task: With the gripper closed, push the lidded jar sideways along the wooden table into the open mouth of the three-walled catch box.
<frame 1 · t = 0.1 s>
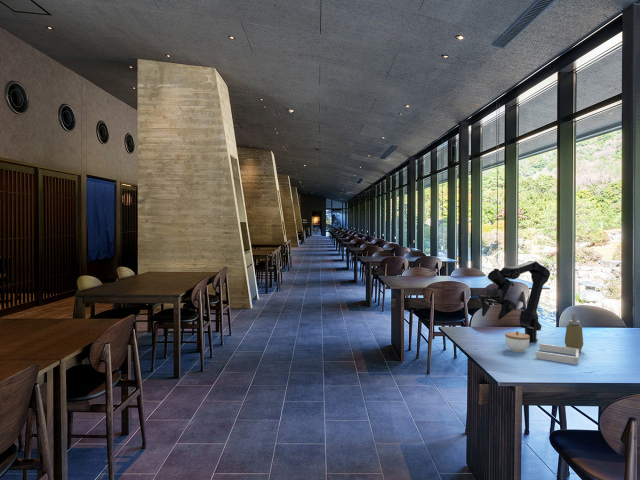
hand: (490, 317, 213), 15 cm above the table, tool tilted 30°, fingers open, 9 cm apart
catch box: (557, 356, 200), on the table
squeeze bottle: (573, 350, 211), on the table
lidded jar: (517, 351, 209), on the table
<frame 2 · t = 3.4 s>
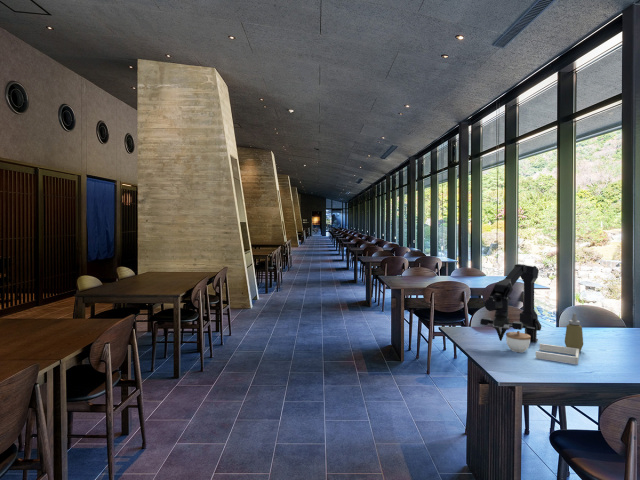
hand: (500, 340, 213), 4 cm above the table, tool pointing down, fingers closed
lidded jar: (517, 350, 208), on the table, touching gripper
everything else where it was.
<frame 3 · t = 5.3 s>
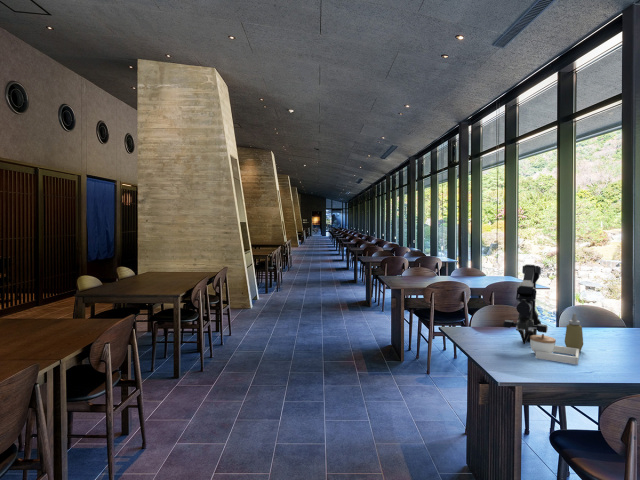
hand: (524, 343, 207), 4 cm above the table, tool pointing down, fingers closed
lidded jar: (541, 354, 203), on the table, touching gripper
everything else where it was.
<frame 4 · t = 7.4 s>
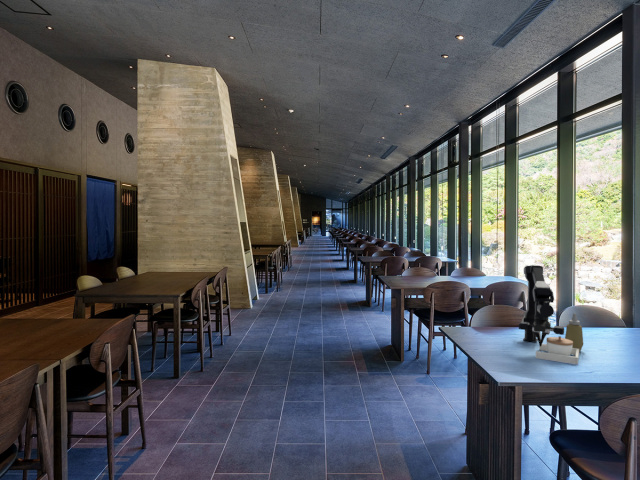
hand: (540, 346, 203), 4 cm above the table, tool pointing down, fingers closed
lidded jar: (558, 357, 199), on the table, touching gripper
everything else where it was.
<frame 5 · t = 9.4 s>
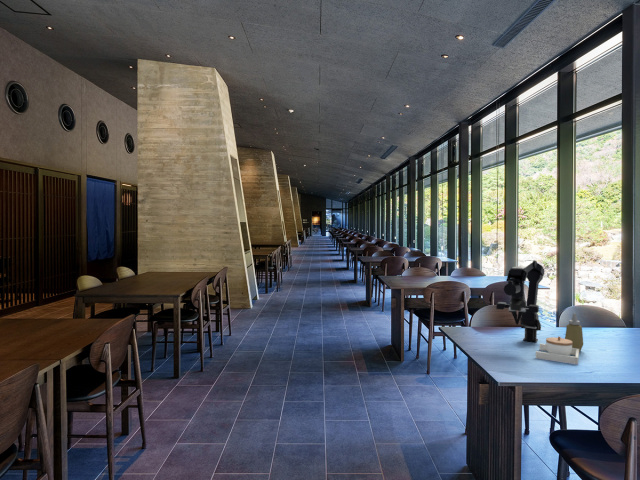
hand: (517, 324, 213), 12 cm above the table, tool pointing down, fingers closed
lidded jar: (558, 357, 199), on the table
everything else where it was.
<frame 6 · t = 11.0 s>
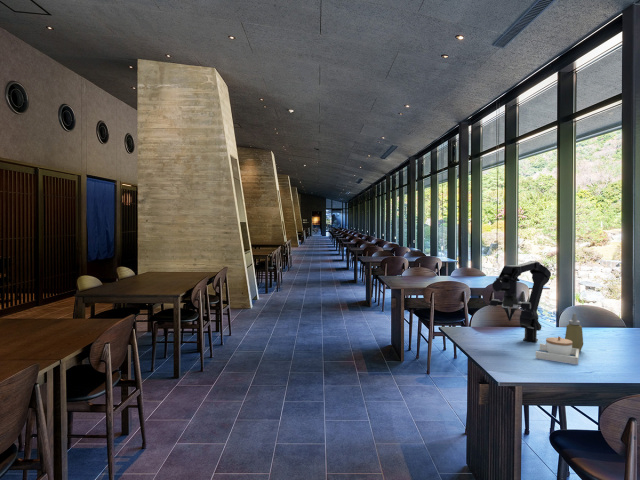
hand: (509, 320, 219), 12 cm above the table, tool pointing down, fingers closed
nothing on the table moved.
at the end: lidded jar 1.0 cm off-centre on the catch box, point 0.0 cm above the catch box's base; lidded jar tilted 0° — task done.
